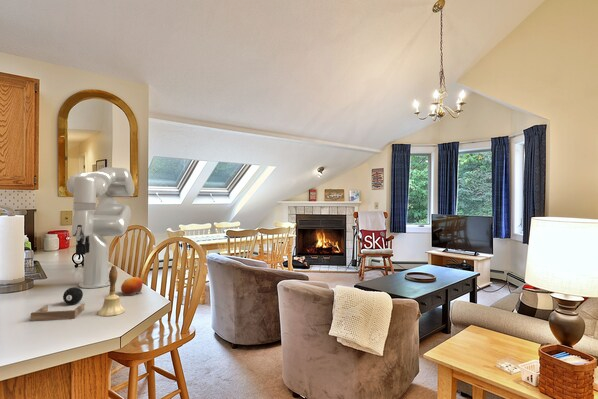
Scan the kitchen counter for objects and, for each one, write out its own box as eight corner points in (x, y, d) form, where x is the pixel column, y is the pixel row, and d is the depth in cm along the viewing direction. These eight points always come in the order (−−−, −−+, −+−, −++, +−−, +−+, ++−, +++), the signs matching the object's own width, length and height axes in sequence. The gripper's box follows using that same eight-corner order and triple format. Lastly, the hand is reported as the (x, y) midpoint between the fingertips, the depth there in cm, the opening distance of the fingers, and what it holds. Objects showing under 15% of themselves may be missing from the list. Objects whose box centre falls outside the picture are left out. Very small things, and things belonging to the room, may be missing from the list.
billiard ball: (85, 301, 128) (86, 285, 128) (77, 306, 122) (78, 289, 122) (68, 301, 127) (68, 285, 127) (59, 306, 121) (60, 289, 121)
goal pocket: (44, 311, 115) (44, 304, 115) (84, 309, 119) (84, 302, 119) (30, 321, 106) (30, 313, 106) (74, 318, 109) (74, 311, 109)
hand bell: (99, 310, 119) (101, 264, 119) (125, 308, 122) (127, 263, 122) (95, 317, 111) (97, 269, 111) (124, 315, 114) (125, 267, 115)
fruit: (138, 293, 135) (129, 276, 136) (122, 302, 137) (114, 284, 138) (150, 289, 143) (142, 272, 144) (136, 297, 145) (128, 280, 146)
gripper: (80, 206, 141) (78, 250, 141) (65, 207, 125) (63, 257, 125) (101, 207, 143) (99, 250, 143) (88, 208, 127) (86, 256, 127)
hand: (82, 253), depth 134 cm, fingers open, 4 cm apart
